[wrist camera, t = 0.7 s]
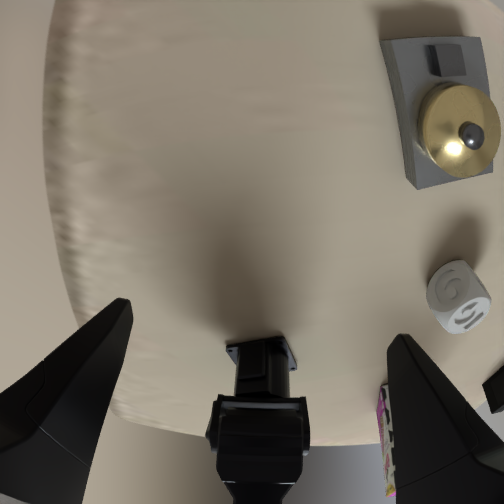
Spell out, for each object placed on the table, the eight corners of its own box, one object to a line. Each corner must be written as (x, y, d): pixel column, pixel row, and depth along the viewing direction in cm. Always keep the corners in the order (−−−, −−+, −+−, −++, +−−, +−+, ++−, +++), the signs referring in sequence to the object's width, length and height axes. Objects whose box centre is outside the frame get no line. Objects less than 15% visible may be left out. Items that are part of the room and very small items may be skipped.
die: (442, 303, 27) (459, 340, 23) (419, 285, 26) (437, 325, 22) (476, 273, 25) (497, 308, 21) (456, 250, 23) (480, 287, 19)
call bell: (479, 162, 18) (510, 187, 14) (406, 177, 20) (432, 207, 16) (464, 36, 12) (502, 39, 9) (379, 40, 14) (408, 39, 11)
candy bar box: (378, 385, 37) (395, 492, 24) (410, 376, 36) (433, 480, 23) (374, 412, 44) (385, 499, 30) (401, 406, 42) (416, 490, 29)
